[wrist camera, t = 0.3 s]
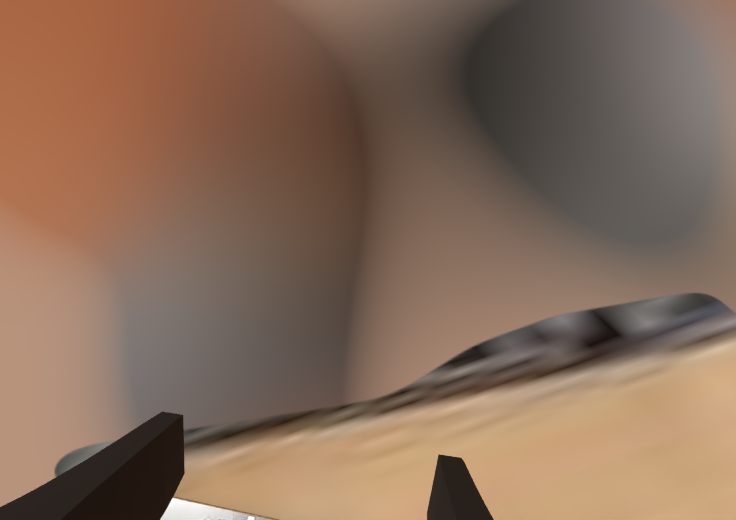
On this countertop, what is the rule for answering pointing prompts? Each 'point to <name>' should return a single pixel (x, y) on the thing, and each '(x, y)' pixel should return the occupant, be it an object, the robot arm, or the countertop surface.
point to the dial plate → (204, 512)
